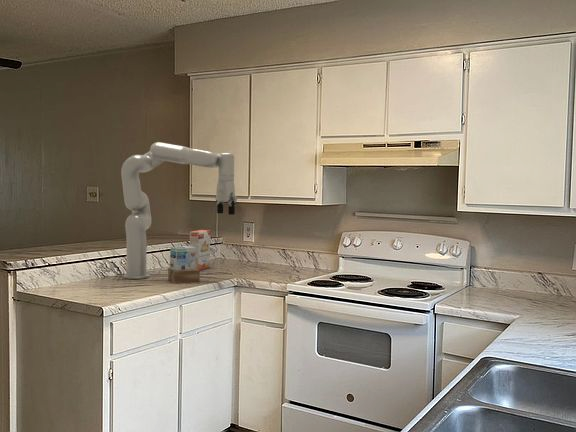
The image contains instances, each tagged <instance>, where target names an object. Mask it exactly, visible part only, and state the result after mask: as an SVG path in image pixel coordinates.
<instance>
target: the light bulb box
mask: <svg viewBox="0 0 576 432" xmlns="http://www.w3.org/2000/svg"><path fill="white" fill-rule="evenodd" d="M169 250H170V255H169V256H170V258H169V260H170V261H169V262H170V263H169V268H170V269H172V270H176V271H179V270H192V269H195V261H196V247H191V246H190V245H183V246H182V245H181V246H170V249H169Z"/></svg>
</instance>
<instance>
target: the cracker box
mask: <svg viewBox="0 0 576 432" xmlns="http://www.w3.org/2000/svg"><path fill="white" fill-rule="evenodd" d="M189 246H191V247H196V261H195V268H196V269H198V270H200V271H201V270H202V271H203V270H205V269H209V268H210V261H211V259H210V257H211V256H210V252H211V230H209V229H207V230H206V229H199V230H194V231H189Z"/></svg>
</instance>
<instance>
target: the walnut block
mask: <svg viewBox="0 0 576 432" xmlns="http://www.w3.org/2000/svg"><path fill="white" fill-rule="evenodd" d="M167 271H168V272H167V275H168V277H167V278H168V279H169V281H170V282H171V283H173V282H174V284H187V283H189V284H190V283H191V282H192V283H200V282H201V281H200V279H201V278H200V273H201V272H200V271H201V270H198V269H196V268H195V269H192V270H179V271H176V270H172V269H170V267H169V268H168V269H167Z"/></svg>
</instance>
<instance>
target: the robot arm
mask: <svg viewBox="0 0 576 432" xmlns="http://www.w3.org/2000/svg"><path fill="white" fill-rule="evenodd" d="M149 148H150V149H149V151H148V152H147V151H146V153H144V154H133V155H131V156H130V157H128V158H126V160H125V161H124V162H123V163H122V166H121V170H120V172H121V173H120V175H121V183H122V191H123V199H124V200H123V201H124V205H125V207H126V208H127V209H128V210H129V211H131V214H130V215H129V216H127V218H126V220H125V223H124V224H125V225H124V228H125V234H126V235H125V236H126V237H125V238H126V268H125V271H126V273H124V274H123V275H122V277H123V278H124V279H128V280H141V279H142V280H143V279H147V278H150V274H149V273H147V255H148V254H147V253H148V252H147V248H148V247H147V233H146V232H147V230H148V229H150V228H151V225H152V214H151V206H150V199H149V197H148V195H147V194H146V193H145V192H144V191H142V186H141V185H142V184H141V180H140V176H139V174H140V173H148V172H150V171H152V170H154V169H155V168H157V167H158V166H159V165H161V164H163V163H164V162H170V163H174V164H175V163H176V164H181V165H191V166H197V167H204V168H208V169H214V168H218V176H217V178H218V181H217V184H216V185H217V186H216V192H215V196H214V198H215V203H216V213H217V214H224V205H223V204H224V203H228V205H229V206H228V212H227V213H228V215H229V216H230V215H232V216H233V215H235V213H236V211H235V209H236V204H237V201H238V197H237V195H236V190H235V189H236V188H235V154H234V153H232V152H231V153H230V152H221V153H218V152H214V151H213V152H212V151H207V150H201V149H194V148H191V147H187V146H184V145H179V144H173V143H169V142H168V143H167V142H161V141H157V142H154V143H152V144H151V146H150V147H149Z"/></svg>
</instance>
